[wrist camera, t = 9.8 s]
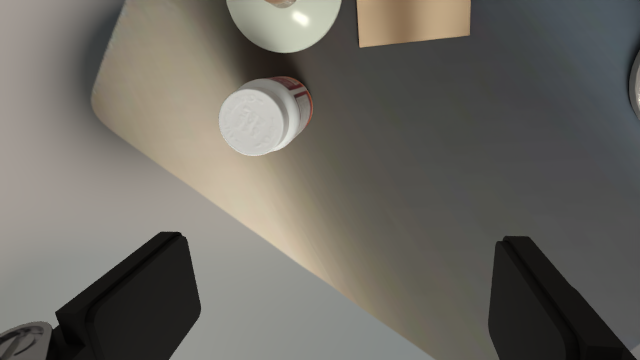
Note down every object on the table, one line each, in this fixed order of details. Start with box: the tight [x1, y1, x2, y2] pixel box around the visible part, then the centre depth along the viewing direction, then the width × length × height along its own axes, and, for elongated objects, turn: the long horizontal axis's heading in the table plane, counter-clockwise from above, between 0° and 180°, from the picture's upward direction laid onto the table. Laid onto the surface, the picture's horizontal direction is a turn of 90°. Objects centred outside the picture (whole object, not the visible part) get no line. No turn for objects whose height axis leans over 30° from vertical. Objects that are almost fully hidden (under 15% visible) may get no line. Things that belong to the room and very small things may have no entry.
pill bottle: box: [219, 76, 313, 156], centre depth 31 cm, size 6×6×11 cm
